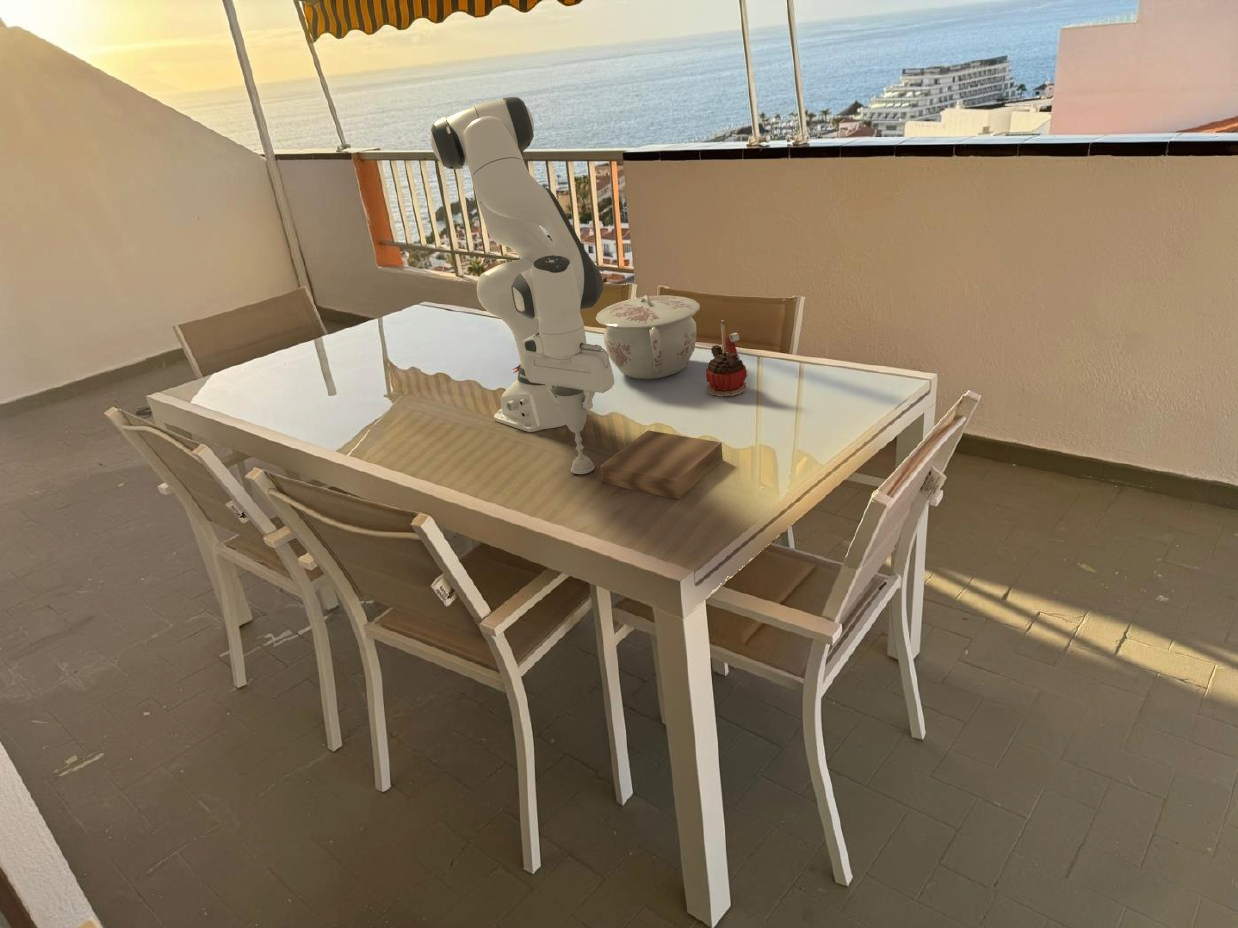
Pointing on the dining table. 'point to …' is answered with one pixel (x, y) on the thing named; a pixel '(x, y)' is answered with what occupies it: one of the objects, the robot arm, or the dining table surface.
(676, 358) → the chamber pot
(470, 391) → the dining table surface
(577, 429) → the chalice
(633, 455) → the plinth
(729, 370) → the cake
